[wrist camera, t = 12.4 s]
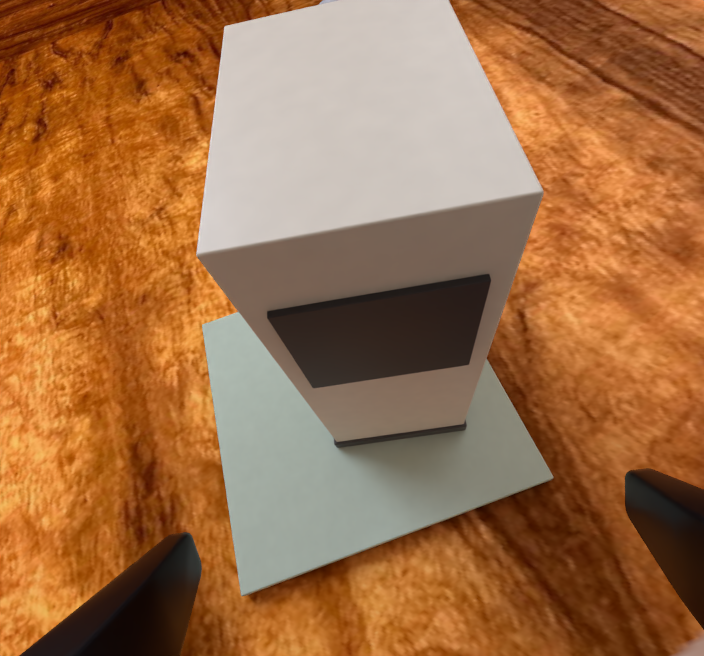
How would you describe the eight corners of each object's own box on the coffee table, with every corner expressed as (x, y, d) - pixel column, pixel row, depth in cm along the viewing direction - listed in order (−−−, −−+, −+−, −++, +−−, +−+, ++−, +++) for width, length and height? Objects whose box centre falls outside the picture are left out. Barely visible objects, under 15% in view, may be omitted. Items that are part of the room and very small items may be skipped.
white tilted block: (429, 283, 19) (441, -27, 9) (466, 431, 16) (557, 197, 5) (324, 301, 20) (219, 24, 9) (336, 449, 16) (187, 265, 6)
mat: (550, 480, 15) (554, 477, 14) (245, 595, 14) (240, 597, 14) (423, 251, 21) (423, 245, 20) (206, 329, 21) (201, 324, 20)
